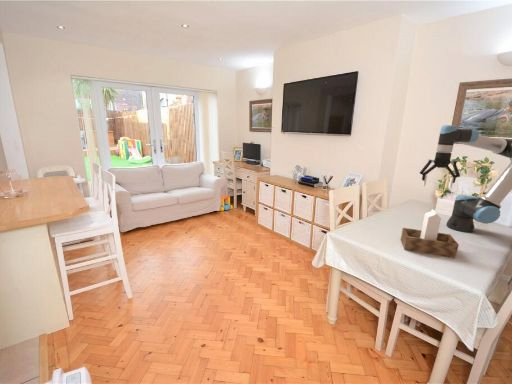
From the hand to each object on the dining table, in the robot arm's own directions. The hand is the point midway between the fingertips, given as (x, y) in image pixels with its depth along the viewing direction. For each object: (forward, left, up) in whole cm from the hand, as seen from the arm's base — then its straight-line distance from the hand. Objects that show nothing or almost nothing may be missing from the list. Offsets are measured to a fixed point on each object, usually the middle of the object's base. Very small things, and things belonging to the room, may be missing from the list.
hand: (436, 186), depth 156 cm
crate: (+5, +23, -32) cm, 39 cm away
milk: (+5, +23, -31) cm, 39 cm away
